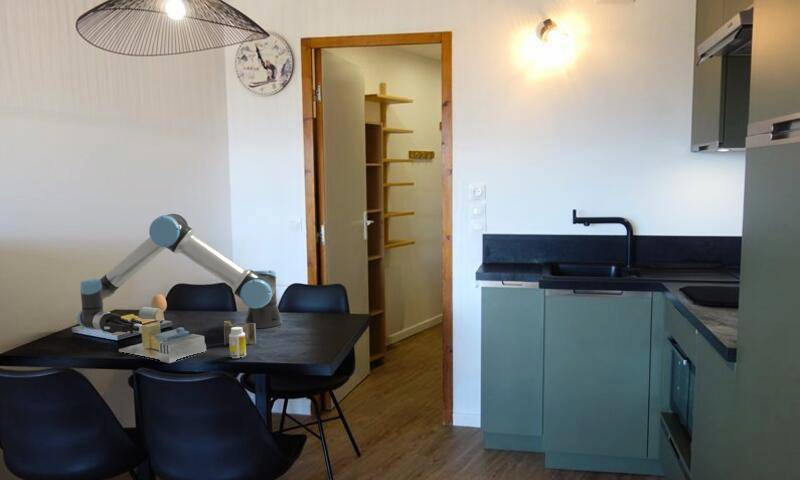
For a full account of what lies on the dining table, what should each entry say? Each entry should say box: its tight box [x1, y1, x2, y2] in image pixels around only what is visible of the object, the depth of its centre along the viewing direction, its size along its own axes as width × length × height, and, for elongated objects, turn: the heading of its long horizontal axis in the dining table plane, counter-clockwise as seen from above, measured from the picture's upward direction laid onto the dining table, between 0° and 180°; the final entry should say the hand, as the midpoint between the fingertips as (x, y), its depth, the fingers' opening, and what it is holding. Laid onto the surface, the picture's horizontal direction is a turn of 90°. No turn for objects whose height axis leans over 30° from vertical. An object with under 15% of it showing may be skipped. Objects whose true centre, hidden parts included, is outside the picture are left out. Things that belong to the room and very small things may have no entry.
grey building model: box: [118, 326, 207, 364], centre depth 238 cm, size 28×16×8 cm, turn 57°
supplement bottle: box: [228, 327, 247, 359], centre depth 230 cm, size 6×6×10 cm
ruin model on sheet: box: [223, 320, 257, 346], centre depth 248 cm, size 11×3×10 cm, turn 96°
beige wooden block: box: [141, 323, 166, 350], centre depth 239 cm, size 11×5×8 cm, turn 57°
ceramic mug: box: [137, 306, 165, 321], centre depth 282 cm, size 11×8×8 cm
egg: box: [150, 293, 168, 313], centre depth 302 cm, size 7×7×9 cm
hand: (146, 329), depth 241 cm, fingers closed
